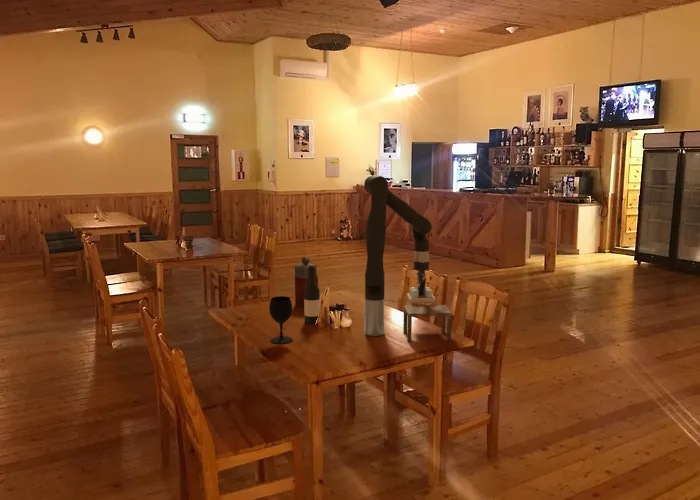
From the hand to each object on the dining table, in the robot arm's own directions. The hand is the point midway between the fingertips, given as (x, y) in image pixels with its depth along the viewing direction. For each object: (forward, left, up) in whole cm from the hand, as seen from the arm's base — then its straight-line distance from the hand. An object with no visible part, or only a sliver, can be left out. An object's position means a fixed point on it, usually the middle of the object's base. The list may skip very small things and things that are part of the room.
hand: (420, 294), depth 285 cm
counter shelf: (+1, -14, -17) cm, 22 cm away
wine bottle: (-53, +13, -17) cm, 58 cm away
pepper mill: (-56, +48, -17) cm, 76 cm away
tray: (0, 0, -3) cm, 3 cm away
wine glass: (-67, -15, -17) cm, 71 cm away
